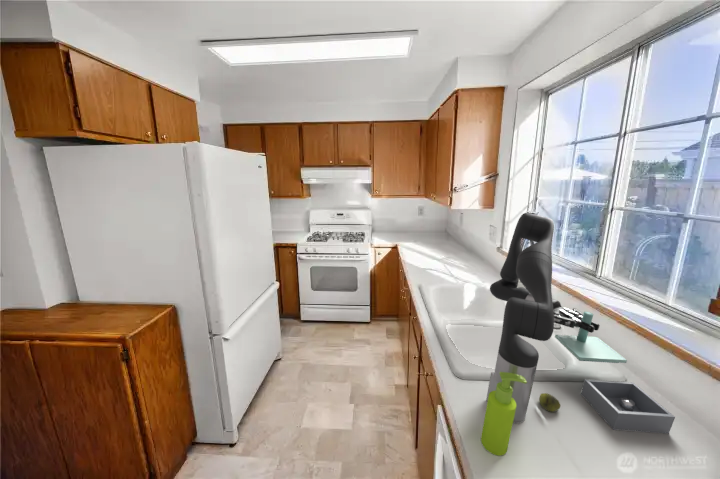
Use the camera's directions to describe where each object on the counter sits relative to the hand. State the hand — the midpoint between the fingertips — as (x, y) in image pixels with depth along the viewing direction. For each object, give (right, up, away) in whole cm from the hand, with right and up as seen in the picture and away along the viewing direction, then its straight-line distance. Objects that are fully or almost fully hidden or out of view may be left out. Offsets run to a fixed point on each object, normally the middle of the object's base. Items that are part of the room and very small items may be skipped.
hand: (595, 328), depth 91 cm
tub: (-3, -20, -12) cm, 24 cm away
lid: (-2, -8, +1) cm, 8 cm away
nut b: (0, -19, -10) cm, 22 cm away
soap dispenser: (-43, -22, -22) cm, 53 cm away
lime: (-23, -20, -11) cm, 32 cm away
